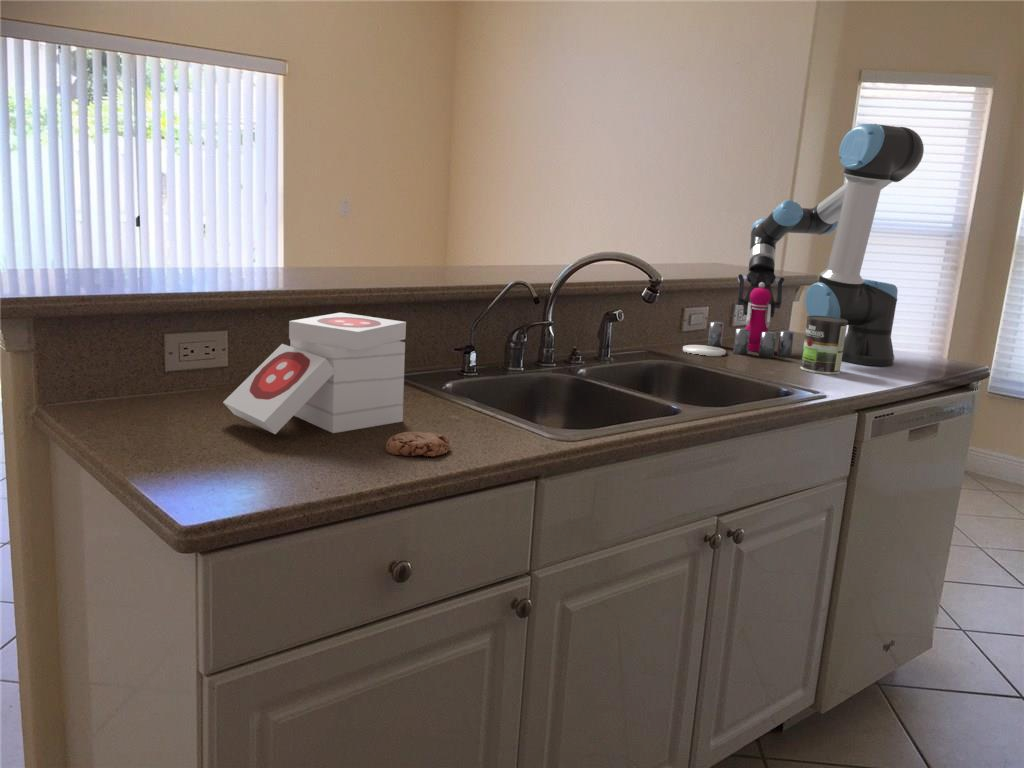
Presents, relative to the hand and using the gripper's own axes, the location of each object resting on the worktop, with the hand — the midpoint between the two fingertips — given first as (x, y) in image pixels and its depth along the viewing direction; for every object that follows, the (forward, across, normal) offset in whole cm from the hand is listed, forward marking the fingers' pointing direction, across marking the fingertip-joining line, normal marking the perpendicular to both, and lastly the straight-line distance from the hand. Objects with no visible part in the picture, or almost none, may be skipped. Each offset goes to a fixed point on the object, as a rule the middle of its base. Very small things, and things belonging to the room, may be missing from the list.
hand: (757, 323), depth 260 cm
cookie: (+99, +60, +86) cm, 144 cm away
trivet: (+12, +14, +1) cm, 19 cm away
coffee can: (+20, -16, +8) cm, 27 cm away
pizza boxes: (+92, +81, +80) cm, 147 cm away
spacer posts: (+6, +1, -6) cm, 8 cm away
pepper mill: (+3, 0, -9) cm, 9 cm away
